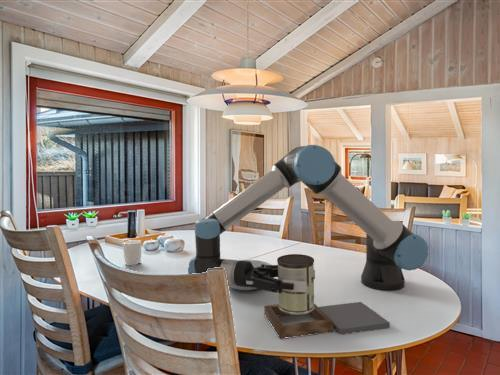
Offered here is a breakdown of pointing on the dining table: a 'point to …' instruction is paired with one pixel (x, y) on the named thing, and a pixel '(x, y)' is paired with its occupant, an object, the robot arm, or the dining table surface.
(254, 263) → the serving bowl
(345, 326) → the rubber mat
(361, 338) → the dining table surface
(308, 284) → the coffee can
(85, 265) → the dining table surface
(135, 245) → the white cup
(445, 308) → the dining table surface
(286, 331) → the walnut collar
